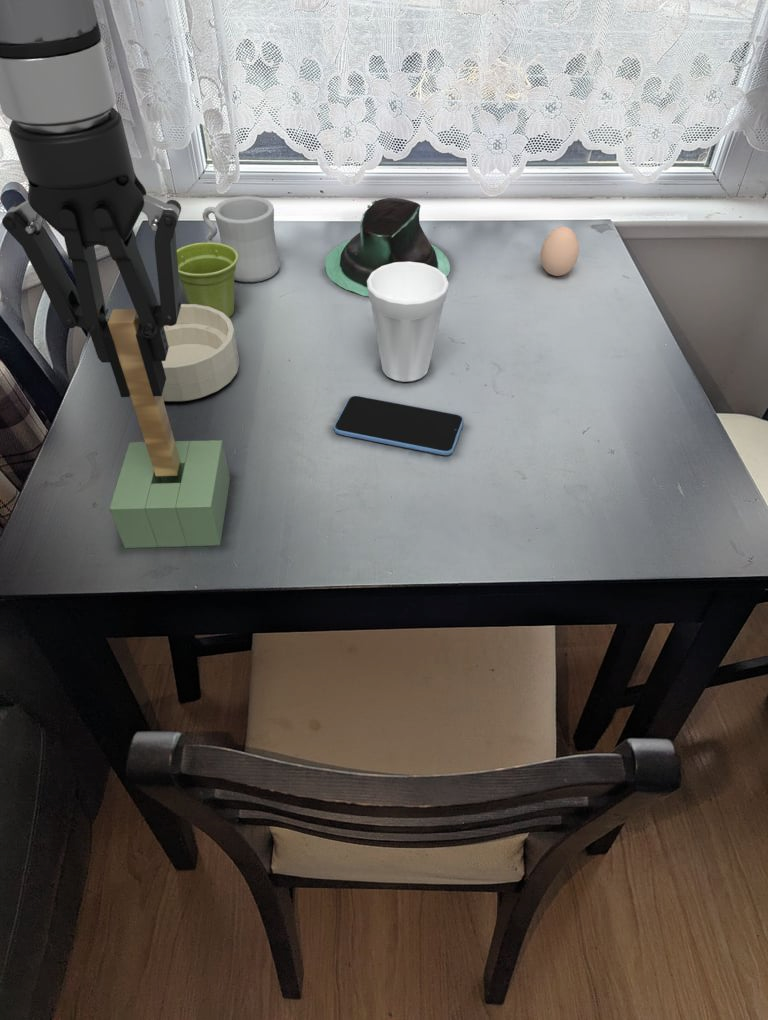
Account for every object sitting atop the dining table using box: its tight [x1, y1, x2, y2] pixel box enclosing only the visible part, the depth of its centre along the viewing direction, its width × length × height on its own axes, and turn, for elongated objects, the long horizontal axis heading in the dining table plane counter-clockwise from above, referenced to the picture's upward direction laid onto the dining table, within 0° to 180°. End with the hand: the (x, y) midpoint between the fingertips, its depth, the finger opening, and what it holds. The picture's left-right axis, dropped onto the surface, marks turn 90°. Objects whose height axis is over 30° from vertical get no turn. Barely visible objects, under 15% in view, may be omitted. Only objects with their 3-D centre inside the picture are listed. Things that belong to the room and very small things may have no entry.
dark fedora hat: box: [324, 197, 451, 297], centre depth 116 cm, size 15×19×20 cm
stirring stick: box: [107, 308, 180, 476], centre depth 69 cm, size 2×2×18 cm
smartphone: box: [333, 395, 464, 456], centre depth 89 cm, size 7×1×15 cm
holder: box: [109, 439, 231, 549], centre depth 78 cm, size 10×10×6 cm
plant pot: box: [177, 241, 238, 319], centre depth 104 cm, size 9×9×9 cm
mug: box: [202, 195, 281, 283], centre depth 113 cm, size 12×9×10 cm
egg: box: [540, 226, 580, 277], centre depth 113 cm, size 6×6×8 cm
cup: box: [367, 262, 450, 383], centre depth 93 cm, size 10×10×13 cm
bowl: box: [162, 303, 240, 402], centre depth 95 cm, size 14×14×6 cm
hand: (144, 387), depth 68 cm, fingers closed on stirring stick, 2 cm apart
